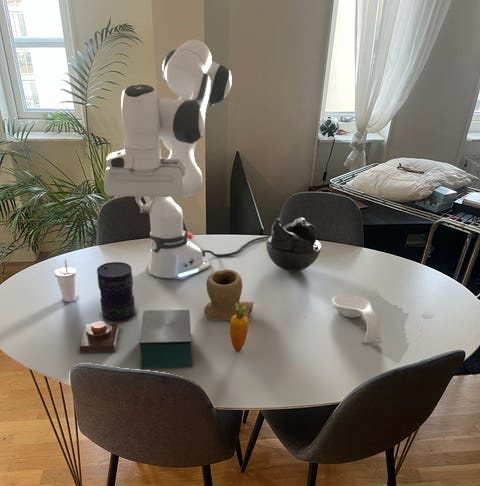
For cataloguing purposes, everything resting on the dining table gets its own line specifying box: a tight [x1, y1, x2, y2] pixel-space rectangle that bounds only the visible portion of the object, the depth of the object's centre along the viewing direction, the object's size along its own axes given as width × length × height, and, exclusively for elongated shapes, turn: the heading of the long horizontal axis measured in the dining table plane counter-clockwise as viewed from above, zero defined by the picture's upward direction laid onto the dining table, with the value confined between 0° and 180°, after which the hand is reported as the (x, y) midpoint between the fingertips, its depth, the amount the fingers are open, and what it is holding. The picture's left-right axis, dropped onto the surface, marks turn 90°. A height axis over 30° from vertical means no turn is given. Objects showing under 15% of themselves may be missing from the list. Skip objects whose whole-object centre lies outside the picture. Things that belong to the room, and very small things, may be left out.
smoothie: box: [54, 258, 78, 303], centre depth 144 cm, size 6×6×14 cm
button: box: [91, 320, 106, 333], centre depth 127 cm, size 4×4×2 cm
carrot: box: [229, 303, 250, 354], centre depth 124 cm, size 5×5×15 cm
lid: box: [139, 309, 192, 346], centre depth 122 cm, size 15×13×1 cm
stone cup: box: [203, 269, 255, 321], centre depth 140 cm, size 15×12×15 cm
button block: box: [78, 322, 120, 354], centre depth 128 cm, size 11×9×4 cm
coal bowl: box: [265, 216, 322, 272], centre depth 171 cm, size 20×20×19 cm
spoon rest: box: [331, 294, 381, 344], centre depth 143 cm, size 24×12×7 cm, turn 12°
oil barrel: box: [96, 261, 136, 323], centre depth 138 cm, size 10×10×15 cm
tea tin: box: [139, 343, 192, 369], centre depth 125 cm, size 15×13×8 cm
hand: (146, 212), depth 124 cm, fingers closed
